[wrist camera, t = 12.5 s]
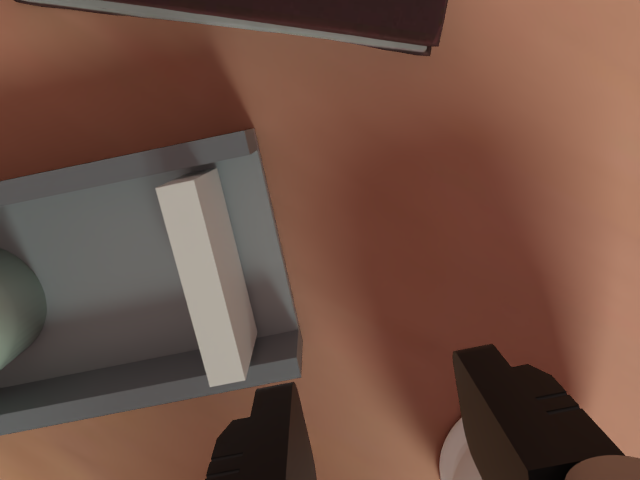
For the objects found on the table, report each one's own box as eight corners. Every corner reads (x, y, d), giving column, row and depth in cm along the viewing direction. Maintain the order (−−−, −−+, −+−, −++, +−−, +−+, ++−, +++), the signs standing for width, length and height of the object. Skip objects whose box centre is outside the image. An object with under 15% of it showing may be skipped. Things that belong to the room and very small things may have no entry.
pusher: (257, 332, 27) (245, 380, 22) (228, 338, 27) (209, 387, 22) (216, 167, 25) (194, 180, 20) (185, 174, 25) (155, 187, 20)
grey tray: (302, 341, 28) (301, 377, 24) (-62, 412, 29) (-120, 458, 25) (254, 128, 26) (244, 130, 22) (-144, 211, 26) (-222, 227, 22)
